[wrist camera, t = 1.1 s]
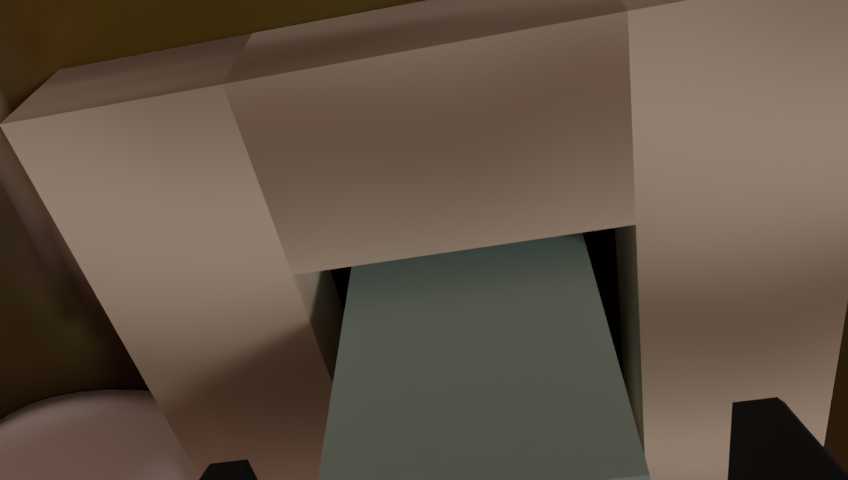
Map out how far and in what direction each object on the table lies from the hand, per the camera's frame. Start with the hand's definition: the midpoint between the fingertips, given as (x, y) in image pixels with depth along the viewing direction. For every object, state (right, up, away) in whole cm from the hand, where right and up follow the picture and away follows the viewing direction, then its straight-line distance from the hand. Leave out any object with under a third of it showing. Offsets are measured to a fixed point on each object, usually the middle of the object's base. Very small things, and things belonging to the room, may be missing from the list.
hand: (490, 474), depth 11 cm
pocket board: (0, +2, +3) cm, 4 cm away
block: (0, +2, +3) cm, 4 cm away
